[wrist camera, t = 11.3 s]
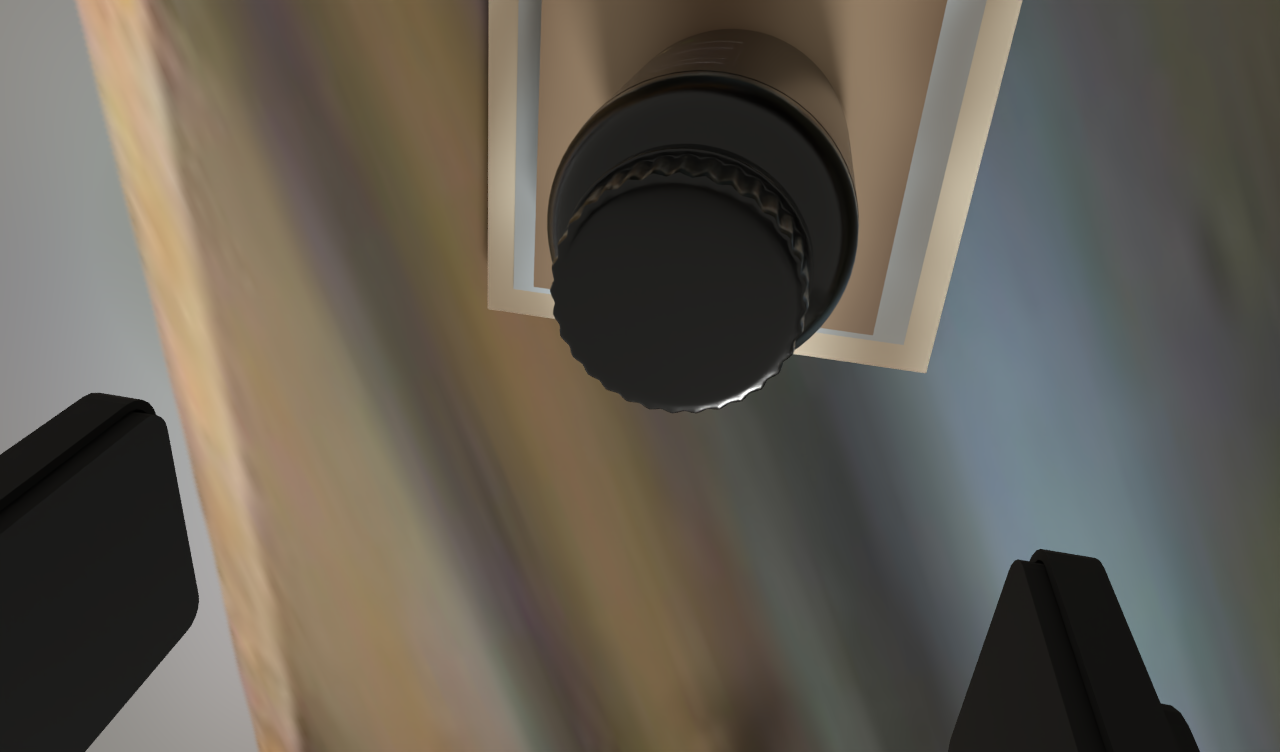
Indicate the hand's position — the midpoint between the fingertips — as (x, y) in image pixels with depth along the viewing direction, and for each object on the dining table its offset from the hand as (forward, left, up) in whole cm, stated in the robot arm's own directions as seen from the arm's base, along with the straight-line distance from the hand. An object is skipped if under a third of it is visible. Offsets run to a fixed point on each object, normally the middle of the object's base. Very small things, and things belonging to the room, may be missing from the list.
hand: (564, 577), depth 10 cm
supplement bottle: (0, 0, -20) cm, 20 cm away
